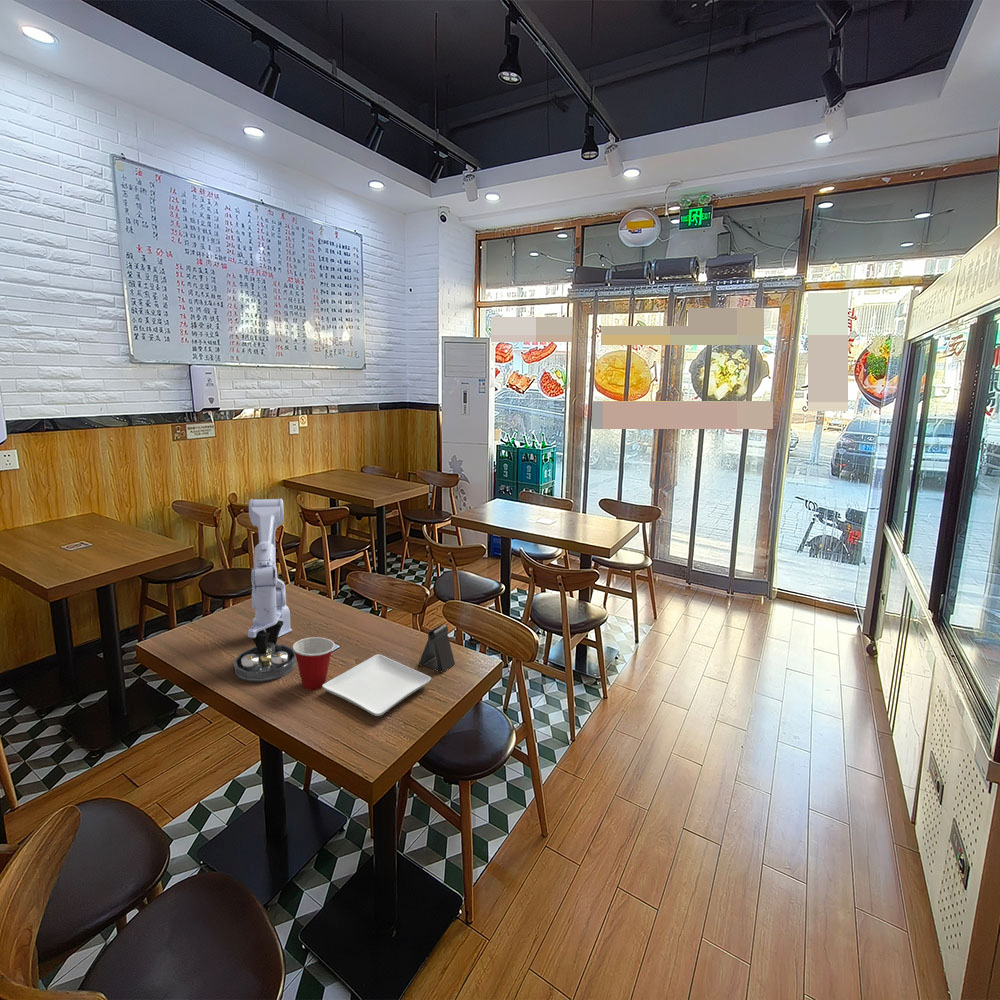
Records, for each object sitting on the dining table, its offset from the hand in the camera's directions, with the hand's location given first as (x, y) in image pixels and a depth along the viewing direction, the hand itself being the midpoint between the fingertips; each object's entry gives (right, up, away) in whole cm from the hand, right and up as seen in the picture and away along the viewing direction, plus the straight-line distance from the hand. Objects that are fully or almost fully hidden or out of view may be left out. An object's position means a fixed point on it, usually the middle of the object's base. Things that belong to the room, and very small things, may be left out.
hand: (267, 649), depth 157 cm
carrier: (+1, -4, -3) cm, 5 cm away
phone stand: (+49, -6, +4) cm, 50 cm away
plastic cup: (+17, -7, -10) cm, 22 cm away
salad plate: (+35, -9, -11) cm, 38 cm away
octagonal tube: (-1, -2, 0) cm, 2 cm away
